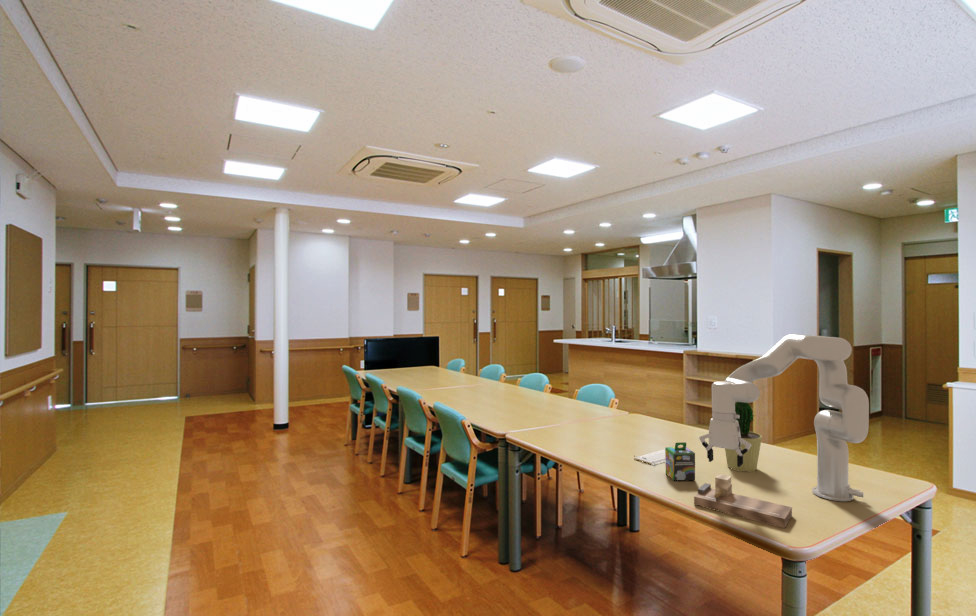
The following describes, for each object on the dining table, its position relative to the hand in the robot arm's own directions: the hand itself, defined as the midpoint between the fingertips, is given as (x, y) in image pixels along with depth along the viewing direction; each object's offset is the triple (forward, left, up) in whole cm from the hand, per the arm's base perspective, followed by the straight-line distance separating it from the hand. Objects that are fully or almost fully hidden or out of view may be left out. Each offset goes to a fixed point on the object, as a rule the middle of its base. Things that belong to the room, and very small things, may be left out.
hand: (725, 463), depth 177 cm
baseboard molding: (+37, -38, -15) cm, 55 cm away
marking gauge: (0, +3, -13) cm, 13 cm away
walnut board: (-7, +4, -14) cm, 16 cm away
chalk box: (+21, -15, -14) cm, 30 cm away
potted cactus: (+5, -45, -14) cm, 47 cm away
